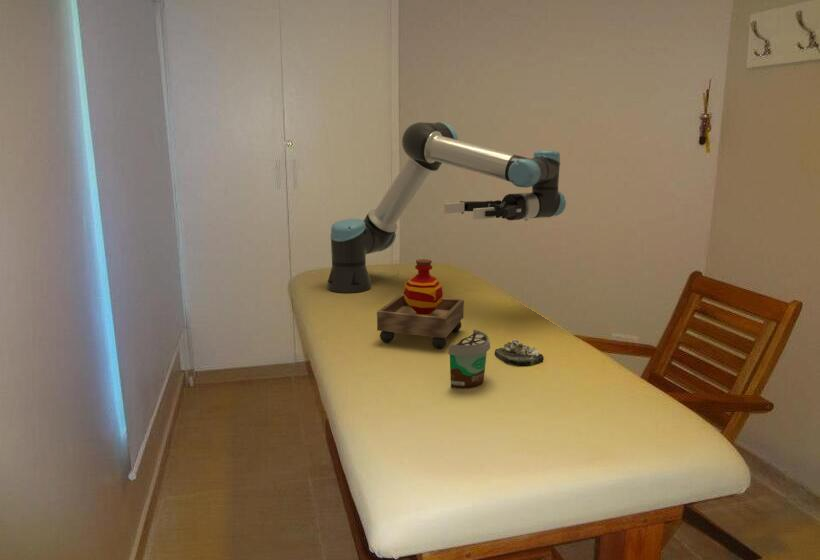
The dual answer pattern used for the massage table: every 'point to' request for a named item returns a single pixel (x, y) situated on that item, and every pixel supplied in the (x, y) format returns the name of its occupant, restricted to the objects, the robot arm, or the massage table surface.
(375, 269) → the massage table surface
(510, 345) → the grey lumpy piece
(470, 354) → the food container
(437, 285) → the potion bottle
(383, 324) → the dolly
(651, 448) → the massage table surface
